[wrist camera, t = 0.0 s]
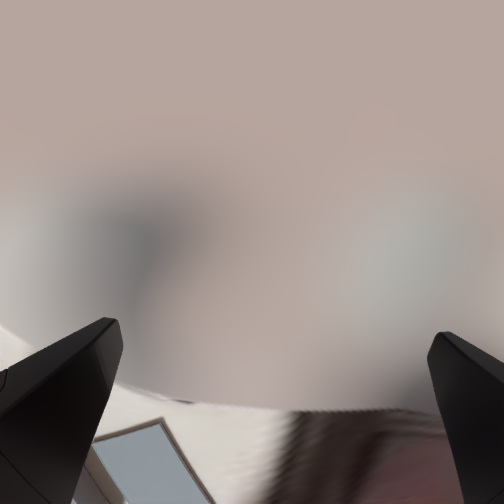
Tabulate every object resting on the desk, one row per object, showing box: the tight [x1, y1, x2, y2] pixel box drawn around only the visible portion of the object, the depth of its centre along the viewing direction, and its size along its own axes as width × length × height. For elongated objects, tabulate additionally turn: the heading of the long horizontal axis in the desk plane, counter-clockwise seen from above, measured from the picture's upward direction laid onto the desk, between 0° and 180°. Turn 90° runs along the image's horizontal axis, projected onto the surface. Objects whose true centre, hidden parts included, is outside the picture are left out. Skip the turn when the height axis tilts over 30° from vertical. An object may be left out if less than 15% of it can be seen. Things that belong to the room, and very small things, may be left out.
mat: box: [91, 422, 212, 504], centre depth 20 cm, size 9×7×1 cm
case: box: [71, 466, 109, 504], centre depth 18 cm, size 12×10×4 cm
